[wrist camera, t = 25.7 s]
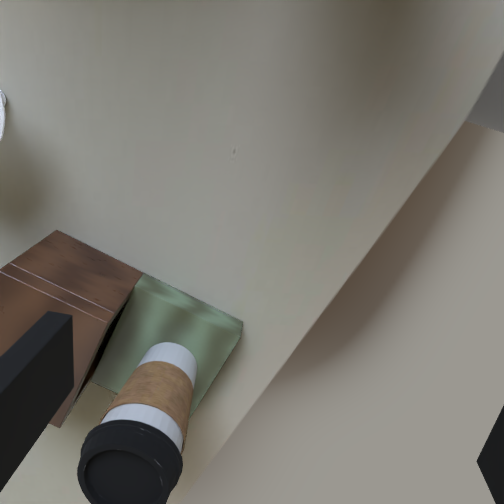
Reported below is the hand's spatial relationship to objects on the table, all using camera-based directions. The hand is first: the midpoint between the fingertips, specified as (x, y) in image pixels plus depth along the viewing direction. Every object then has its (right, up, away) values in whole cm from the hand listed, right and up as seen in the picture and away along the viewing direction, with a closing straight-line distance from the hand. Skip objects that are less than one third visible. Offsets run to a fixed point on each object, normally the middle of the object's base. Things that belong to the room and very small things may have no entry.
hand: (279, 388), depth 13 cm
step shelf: (-15, -4, +36) cm, 39 cm away
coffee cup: (-10, -8, +34) cm, 36 cm away
